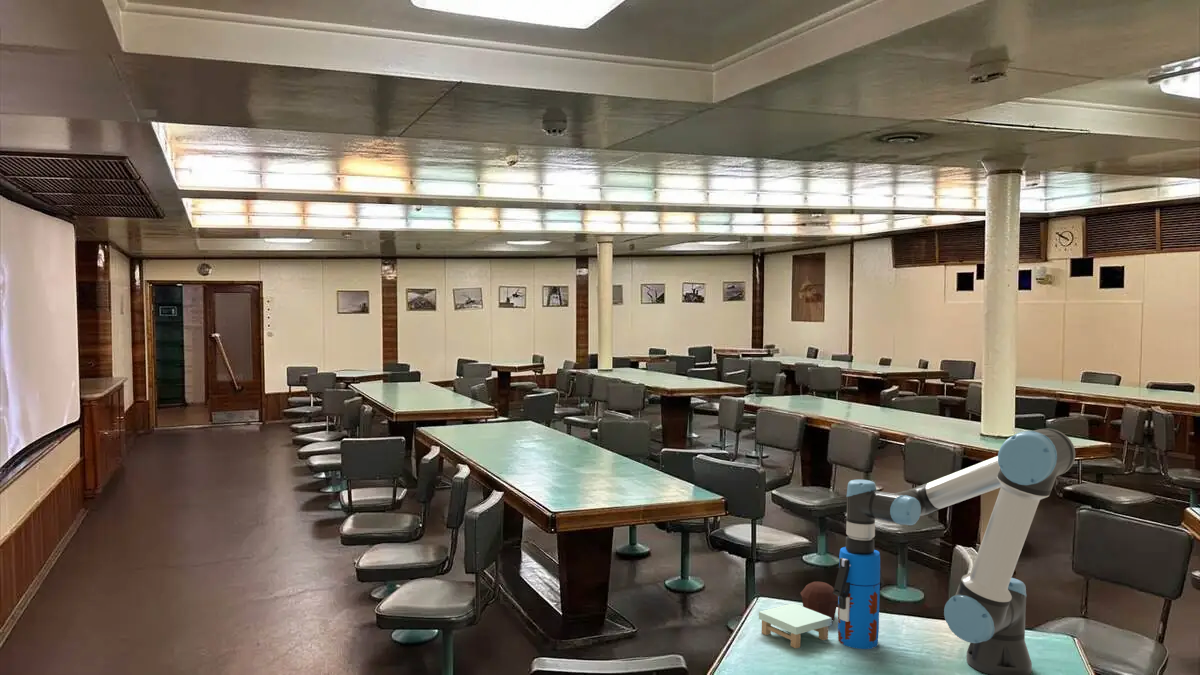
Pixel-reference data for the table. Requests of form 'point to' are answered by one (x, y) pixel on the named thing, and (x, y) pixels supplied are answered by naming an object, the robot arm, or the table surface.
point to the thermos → (861, 601)
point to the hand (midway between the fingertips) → (858, 616)
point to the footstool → (794, 622)
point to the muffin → (820, 598)
